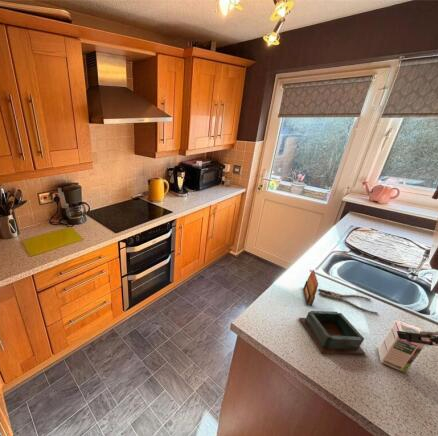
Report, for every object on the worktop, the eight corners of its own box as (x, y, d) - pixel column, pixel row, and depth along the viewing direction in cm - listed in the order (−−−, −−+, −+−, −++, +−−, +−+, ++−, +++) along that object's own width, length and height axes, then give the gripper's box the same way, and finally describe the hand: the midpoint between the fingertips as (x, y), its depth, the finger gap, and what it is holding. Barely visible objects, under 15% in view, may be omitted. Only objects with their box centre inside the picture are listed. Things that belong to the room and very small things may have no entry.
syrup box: (380, 362, 75) (401, 332, 69) (377, 349, 80) (396, 319, 74) (404, 373, 72) (428, 342, 66) (400, 358, 77) (422, 327, 71)
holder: (335, 321, 90) (340, 309, 88) (364, 355, 78) (371, 343, 75) (298, 319, 91) (303, 308, 88) (321, 353, 78) (327, 341, 76)
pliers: (383, 313, 92) (326, 303, 97) (382, 315, 93) (325, 305, 97) (369, 296, 101) (317, 288, 106) (368, 298, 101) (316, 289, 106)
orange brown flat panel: (303, 288, 107) (310, 267, 102) (307, 290, 106) (315, 269, 101) (306, 304, 98) (315, 282, 93) (311, 306, 97) (320, 284, 92)
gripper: (510, 328, 55) (433, 322, 71) (448, 326, 56) (385, 320, 71) (526, 364, 53) (443, 350, 68) (461, 361, 53) (393, 348, 68)
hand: (413, 335), depth 69 cm, fingers open, 8 cm apart
